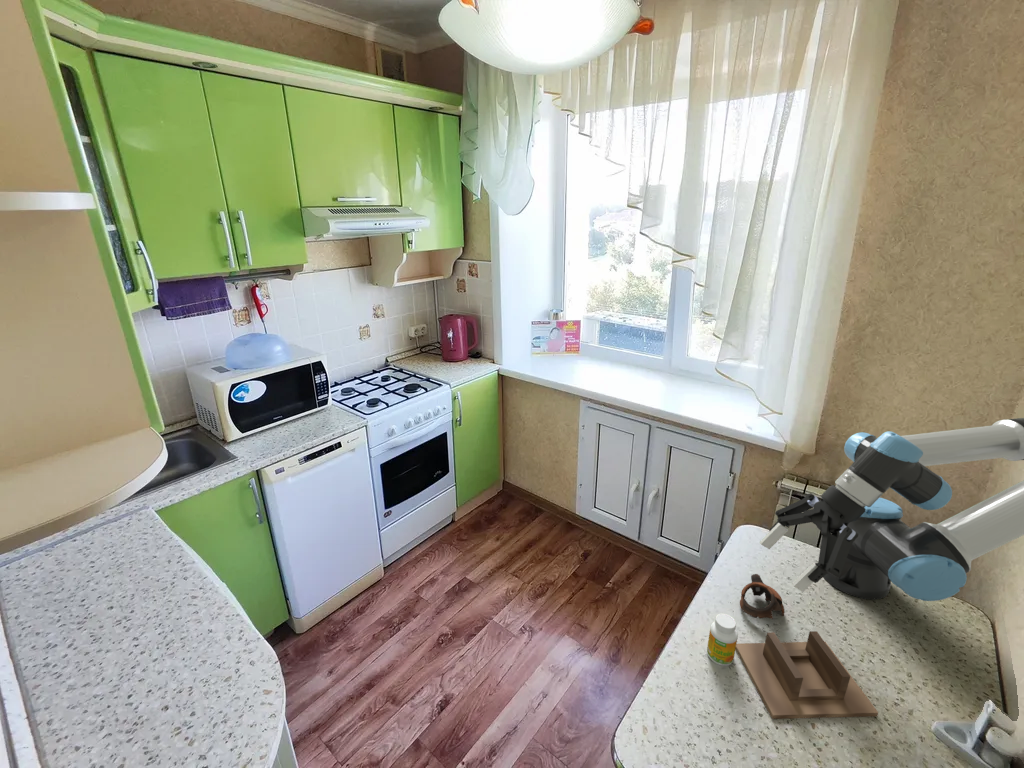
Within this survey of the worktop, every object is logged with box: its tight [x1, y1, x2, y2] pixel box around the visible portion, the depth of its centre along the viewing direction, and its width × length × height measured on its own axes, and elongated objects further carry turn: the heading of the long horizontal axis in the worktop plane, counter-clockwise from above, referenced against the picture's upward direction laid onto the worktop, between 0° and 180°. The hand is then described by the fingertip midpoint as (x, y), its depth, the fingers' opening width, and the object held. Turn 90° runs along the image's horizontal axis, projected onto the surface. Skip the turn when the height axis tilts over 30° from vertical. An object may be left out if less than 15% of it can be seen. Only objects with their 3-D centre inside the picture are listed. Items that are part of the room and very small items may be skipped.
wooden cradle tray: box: [735, 630, 879, 720], centre depth 97 cm, size 20×16×7 cm
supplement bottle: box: [706, 613, 739, 666], centre depth 102 cm, size 5×5×10 cm
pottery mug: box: [739, 573, 786, 620], centre depth 116 cm, size 12×10×8 cm
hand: (779, 565), depth 106 cm, fingers open, 13 cm apart
